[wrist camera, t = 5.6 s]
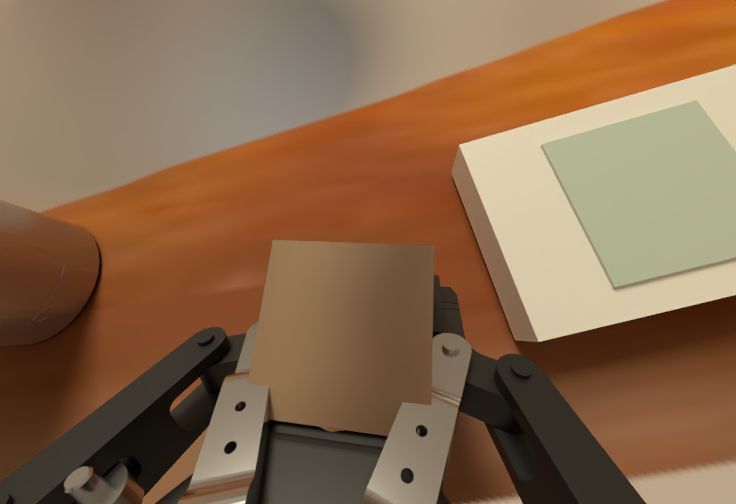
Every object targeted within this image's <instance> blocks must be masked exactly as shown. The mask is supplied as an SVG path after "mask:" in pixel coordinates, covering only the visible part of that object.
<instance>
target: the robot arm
mask: <svg viewBox="0 0 736 504" xmlns="http://www.w3.org/2000/svg"><path fill="white" fill-rule="evenodd" d="M98 270H99V252H98V248H97V245H96V242H95V240H94V238H93V237H92V236H91V234H90V233H89V232H88V231H86V230H85V229H84V228H82V227H80V226H77V225H75V224H72V223H69V222H66V221H63V220H60V219H57V218H53V217H50V216H47V215H44V214H41V213H38V212H35V211H32V210H29V209H26V208H23V207H19V206H17V205H14V204H11V203H8V202H5V201H2V200H0V345H25V344H34V343H37V342H41V341H44V340H46V339H48V338H50V337H52V336H53V335H55V334H57V333H59V332H60V331H61V330H62V329H64V328H65V327H66V326H67V325H69V324H70V323H71V321H72V320H73V319H74V318H75V317H76V316H77V315H78V314H79V313H80V311H81V310H82V308H83V307H84V305H85V304H86V302H87V301H88V299H89V297H90V295H91V293H92V291H93V289H94V286H95V283H96V279H97V276H98ZM257 327H258V322H257V323H255V324H254V325H253V326H252V327H250V329H249V330H248V331H247V333H246V334H240V335H234V336H228V337H227V335H226V333H225V331H224V330H223V329H222V328H218V327H212V328H207V329H204V330H202V331H200V332H198V333H196V334H195V335H193V336H192V337H191V338H189V339H188V340H187V341H185V342H184V343H183V344H182V345H180V346H179V347H178V348H176V349H175V350H174V351H172V352H171V353H170V354H168V355H167V356H166V357H165V358H163V359H162V360H161V361H159V362H158V363H157V364H155V365H154V366H153V367H151V368H150V369H149V370H148V371H146V372H145V373H144V374H142V375H141V376H140V377H138V378H137V379H136V380H134V381H133V382H132V383H131V384H129V385H128V386H127V387H125V388H124V389H123V390H121V391H120V392H119V393H117V394H116V395H115V396H114V397H112V398H111V399H110V400H108V401H107V402H106V403H104V404H103V405H102V406H100V407H99V408H98V409H97V410H95V411H94V412H93V413H91V414H90V415H89V416H87V417H86V418H85V419H83V420H82V421H81V422H80V423H78V424H77V425H76V426H74V427H73V428H72V429H70V430H69V431H68V432H66V433H65V434H64V435H63V436H61V437H60V438H59V439H57V440H56V441H55V442H53V443H52V444H51V445H49V446H48V447H47V448H46V449H44V450H43V451H42V452H40V453H39V454H38V455H36V456H35V457H34V458H32V459H31V460H30V461H29V462H27V463H26V464H25V465H23V466H22V467H21V468H19V469H18V470H17V471H15V472H14V473H13V474H12V475H10V476H9V477H8V478H6V479H5V480H4V481H2V482H1V483H0V504H142V501H143V497H144V496H145V495H146V494H147V493H148V492H149V491H150V490H151V488H152V487H153V486H154V485H155V484H156V483H157V482H158V481H159V480H160V479H161V477H162V476H163V475H164V474H165V473H166V472H167V471H168V470H169V469H170V468H171V467H172V465H173V464H174V463H175V462H176V461H177V460H178V459H179V458H180V457H181V456H182V454H183V453H184V452H185V451H186V450H187V449H188V448H189V447H190V446H191V445H192V444H193V442H194V441H195V440H196V439H197V438H198V437H199V436H200V435H201V434H202V433H203V431H204V430H205V429H206V428H207V427H208V426H209V427H208V430H207V433H206V436H205V439H204V443H203V446H202V449H201V452H200V455H199V458H198V461H197V464H196V467H195V470H194V473H193V474H192V475H191V476H189V477H188V478H187V479H186V480H184V481H183V482H182V483H181V484H179V485H178V486H177V487H176V488H174V489H173V490H172V491H170V492H169V493H168V494H167V495H165V496H164V497H163V498H162V499H160V500H159V501H158V502H156V503H155V504H450V502H449V500H448V499H447V497H446V495H445V494H444V492H443V486H444V481H445V477H446V472H447V468H448V463H449V458H450V453H451V449H452V444H453V440H454V435H455V431H456V427H457V422H458V418H459V413H460V411H461V412H463V413H465V414H468V415H470V416H472V417H474V418H477V419H479V420H481V421H483V422H484V423H485V425H486V427H487V429H488V431H489V433H490V436H491V438H492V440H493V442H494V444H495V446H496V448H497V450H498V452H499V454H500V456H501V459H502V461H503V463H504V465H505V467H506V469H507V471H508V473H509V475H510V477H511V480H512V482H513V484H514V486H515V488H516V490H517V492H518V494H519V496H520V498H521V500H522V503H523V504H646V503H645V502H644V501H643V499H642V498H641V497H640V495H639V494H638V493H637V491H636V490H635V489H634V487H633V486H632V485H631V484H630V482H629V481H628V480H627V478H626V477H625V476H624V475H623V473H622V472H621V471H620V470H619V468H618V467H617V466H616V464H615V463H614V462H613V461H612V459H611V458H610V457H609V455H608V454H607V453H606V452H605V450H604V449H603V448H602V446H601V445H600V444H599V443H598V441H597V440H596V439H595V437H594V436H593V435H592V434H591V432H590V431H589V430H588V429H587V427H586V426H585V425H584V423H583V422H582V421H581V420H580V418H579V417H578V416H577V414H576V413H575V412H574V411H573V409H572V408H571V407H570V405H569V404H568V403H567V402H566V400H565V399H564V398H563V396H562V395H561V394H560V393H559V391H558V390H557V389H556V387H555V386H554V385H553V384H552V382H551V381H550V380H549V379H548V377H547V376H546V375H545V373H544V372H543V371H542V370H541V368H540V367H539V366H538V365H537V364H536V363H534V362H533V361H532V360H530V359H528V358H526V357H524V356H521V355H516V354H507V355H504V356H502V357H500V358H499V360H495V359H492V358H489V357H486V356H484V355H481V354H479V353H478V352H476V351H475V350H473V349H472V348H471V346H470V345H469V343H468V342H467V341H466V340H465V336H464V331H463V325H462V320H461V315H460V310H459V305H458V299H457V295H456V293H455V292H454V291H453V290H452V289H451V287H440V282H439V276H436V275H434V288H433V345H432V401H431V405H423V404H415V403H406V402H402V404H401V407H400V409H399V411H398V414H397V416H396V419H395V421H394V423H393V426H392V428H391V431H390V433H389V436H383V435H376V434H369V433H362V432H355V431H347V430H345V431H337V432H329V431H326V430H324V429H322V428H320V427H318V426H312V425H305V424H297V423H290V422H283V421H276V420H270V398H269V386H262V385H254V384H248V378H249V372H250V367H251V361H252V356H253V350H254V344H255V339H256V333H257ZM199 377H200V379H201V381H202V383H201V384H200V385H199V386H198V387H197V388H196V389H195V390H194V391H193V392H192V393H190V394H189V395H188V396H187V397H186V398H185V399H184V400H183V401H182V402H181V403H180V404H179V405H178V406H177V407H175V408H174V409H173V410H172V411H171V412H170V407H171V404H172V403H173V401H174V400H175V399H176V398H177V397H178V396H179V395H180V394H181V393H182V392H183V391H184V390H186V389H187V388H188V387H189V386H190V385H191V384H192V383H193V382H194V381H195V380H197V379H198V378H199Z"/></svg>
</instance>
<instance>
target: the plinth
mask: <svg viewBox="0 0 736 504" xmlns="http://www.w3.org/2000/svg"><path fill="white" fill-rule="evenodd" d="M452 176H453V179H454V181H455V184H456V187H457V189H458V192H459V194H460V197H461V200H462V202H463V205H464V208H465V210H466V213H467V216H468V218H469V221H470V223H471V226H472V229H473V231H474V234H475V237H476V239H477V242H478V245H479V247H480V250H481V252H482V255H483V258H484V260H485V263H486V266H487V268H488V271H489V274H490V276H491V279H492V281H493V284H494V287H495V289H496V292H497V295H498V297H499V300H500V303H501V305H502V308H503V311H504V313H505V316H506V318H507V321H508V324H509V326H510V329H511V332H512V334H513V337H514V340H517V341H531V342H541V341H545V340H549V339H553V338H557V337H562V336H566V335H570V334H574V333H578V332H583V331H587V330H591V329H595V328H599V327H603V326H608V325H612V324H616V323H620V322H624V321H629V320H633V319H637V318H641V317H645V316H650V315H654V314H658V313H662V312H666V311H670V310H675V309H679V308H683V307H687V306H691V305H696V304H700V303H704V302H708V301H712V300H716V299H721V298H725V297H729V296H733V295H736V65H733V66H730V67H726V68H723V69H719V70H716V71H712V72H709V73H705V74H702V75H699V76H695V77H692V78H688V79H685V80H681V81H678V82H674V83H671V84H668V85H664V86H661V87H657V88H654V89H650V90H647V91H643V92H640V93H637V94H633V95H630V96H626V97H623V98H619V99H616V100H612V101H609V102H605V103H602V104H599V105H595V106H592V107H588V108H585V109H581V110H578V111H574V112H571V113H568V114H564V115H561V116H557V117H554V118H550V119H547V120H543V121H540V122H536V123H533V124H530V125H526V126H523V127H519V128H516V129H512V130H509V131H505V132H502V133H499V134H495V135H492V136H488V137H485V138H481V139H478V140H474V141H471V142H468V143H464V144H461V145H459V147H458V151H457V155H456V158H455V162H454V166H453V170H452Z"/></svg>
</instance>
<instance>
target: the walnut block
mask: <svg viewBox="0 0 736 504" xmlns="http://www.w3.org/2000/svg"><path fill="white" fill-rule="evenodd" d="M433 288H434V246H429V245H400V244H372V243H343V242H315V241H286V240H273V243H272V249H271V254H270V260H269V265H268V271H267V277H266V282H265V288H264V294H263V299H262V305H261V311H260V316H259V322H258V327H257V333H256V339H255V344H254V350H253V356H252V361H251V367H250V372H249V378H248V384H254V385H262V386H269V398H270V420H276V421H283V422H290V423H297V424H305V425H312V426H319V427H326V428H333V429H340V430H347V431H355V432H362V433H369V434H376V435H383V436H389V433H390V431H391V428H392V426H393V423H394V421H395V419H396V416H397V414H398V411H399V409H400V407H401V404H402V402H406V403H415V404H423V405H431V401H432V345H433Z"/></svg>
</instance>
